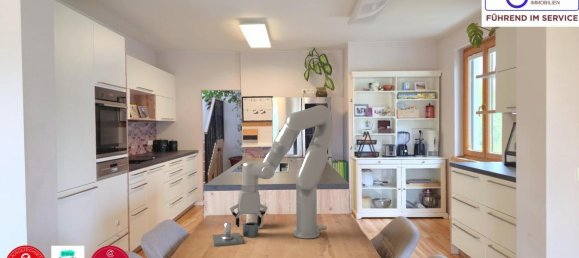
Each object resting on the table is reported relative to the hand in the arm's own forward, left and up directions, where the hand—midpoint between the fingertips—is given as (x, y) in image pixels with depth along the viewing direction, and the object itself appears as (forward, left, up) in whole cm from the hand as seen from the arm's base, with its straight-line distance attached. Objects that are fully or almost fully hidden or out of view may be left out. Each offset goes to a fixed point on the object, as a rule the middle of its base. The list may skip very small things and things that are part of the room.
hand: (248, 225), depth 152 cm
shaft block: (+10, +5, -4) cm, 12 cm away
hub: (-1, 0, -4) cm, 4 cm away
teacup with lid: (-4, -13, -5) cm, 14 cm away
